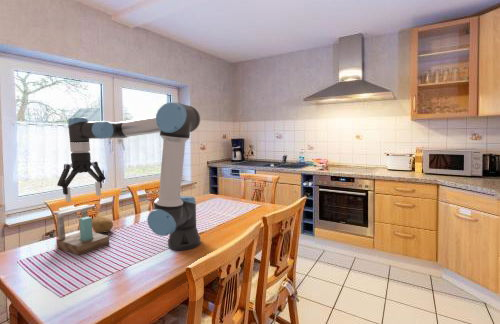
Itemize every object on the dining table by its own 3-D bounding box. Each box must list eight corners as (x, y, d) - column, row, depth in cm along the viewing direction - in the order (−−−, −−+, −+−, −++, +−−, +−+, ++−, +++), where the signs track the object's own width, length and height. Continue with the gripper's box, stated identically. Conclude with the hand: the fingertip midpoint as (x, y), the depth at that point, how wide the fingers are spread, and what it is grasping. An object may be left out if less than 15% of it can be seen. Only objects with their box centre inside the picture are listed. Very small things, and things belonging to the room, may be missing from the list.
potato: (100, 237, 140) (99, 222, 140) (87, 232, 148) (86, 217, 147) (118, 231, 148) (117, 217, 148) (105, 227, 156) (104, 213, 155)
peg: (93, 246, 129) (91, 217, 127) (85, 249, 126) (83, 219, 124) (88, 245, 131) (86, 216, 129) (81, 247, 127) (79, 218, 126)
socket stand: (110, 243, 132) (108, 208, 130) (78, 256, 119) (75, 217, 117) (88, 237, 140) (86, 204, 139) (56, 248, 127) (53, 211, 126)
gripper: (101, 150, 136) (104, 192, 138) (44, 153, 115) (49, 203, 117) (111, 150, 133) (114, 193, 135) (54, 154, 111) (58, 205, 113)
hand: (84, 198), depth 126 cm, fingers open, 13 cm apart
